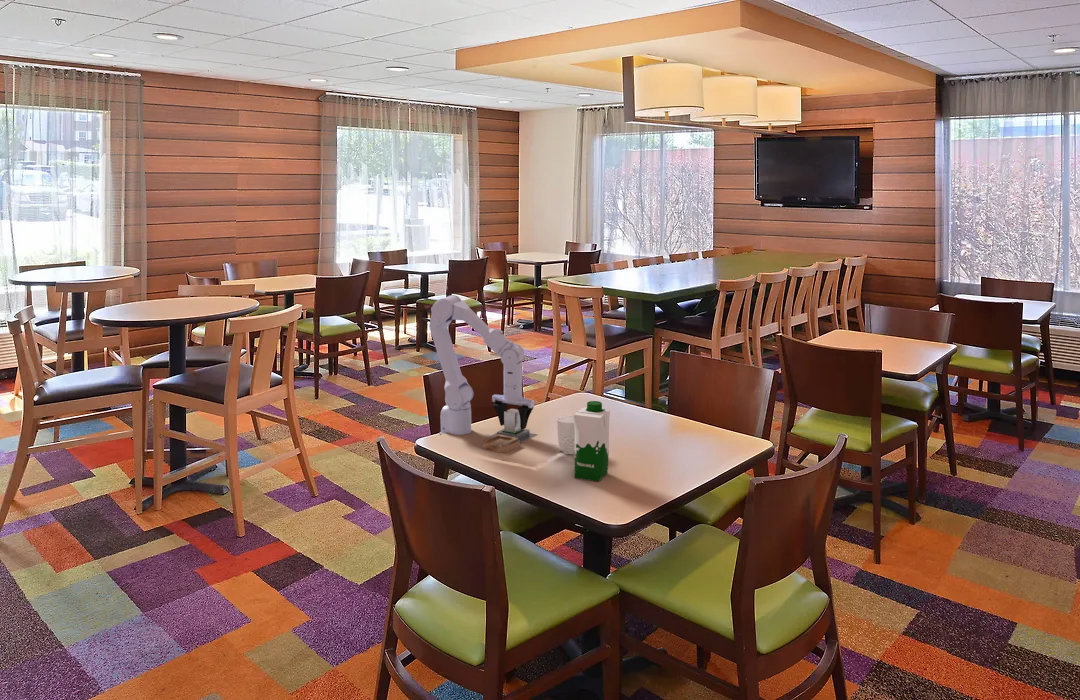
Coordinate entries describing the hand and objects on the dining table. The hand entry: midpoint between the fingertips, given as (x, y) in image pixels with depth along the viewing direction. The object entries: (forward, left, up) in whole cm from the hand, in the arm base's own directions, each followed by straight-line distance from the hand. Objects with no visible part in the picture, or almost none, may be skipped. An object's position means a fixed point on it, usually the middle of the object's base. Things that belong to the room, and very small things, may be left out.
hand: (513, 426), depth 245 cm
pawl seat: (+3, -11, -4) cm, 12 cm away
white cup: (+21, -1, -4) cm, 21 cm away
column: (0, 0, -3) cm, 3 cm away
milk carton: (+36, -16, -4) cm, 40 cm away
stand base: (0, 0, -4) cm, 4 cm away
